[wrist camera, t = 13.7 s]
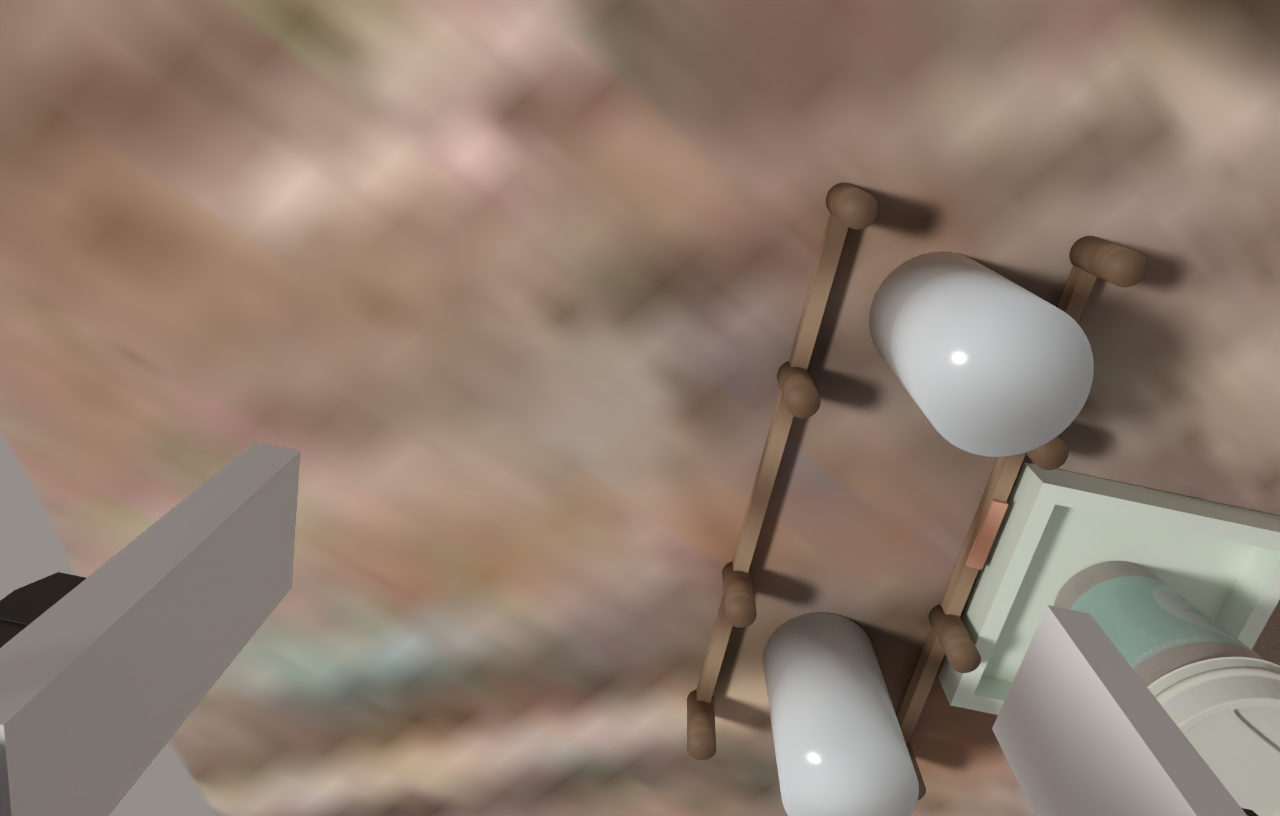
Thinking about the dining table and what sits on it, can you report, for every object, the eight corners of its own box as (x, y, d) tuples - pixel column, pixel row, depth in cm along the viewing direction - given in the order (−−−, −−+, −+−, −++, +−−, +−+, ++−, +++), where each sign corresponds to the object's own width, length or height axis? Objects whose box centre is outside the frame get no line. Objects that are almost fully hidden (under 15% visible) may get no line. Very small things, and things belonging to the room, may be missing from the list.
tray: (1024, 462, 44) (1043, 482, 42) (1280, 515, 44) (1313, 539, 42) (937, 676, 49) (950, 705, 47) (1168, 723, 49) (1192, 754, 47)
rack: (831, 179, 40) (846, 188, 36) (1109, 239, 40) (1153, 254, 36) (684, 708, 51) (684, 756, 47) (903, 752, 51) (920, 804, 47)
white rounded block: (891, 239, 40) (954, 282, 31) (1020, 267, 41) (1120, 318, 31) (853, 363, 43) (900, 438, 33) (975, 389, 43) (1056, 471, 34)
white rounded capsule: (779, 602, 48) (801, 726, 38) (888, 625, 48) (937, 753, 39) (751, 692, 50) (766, 829, 41) (855, 713, 50) (894, 854, 41)
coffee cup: (1198, 648, 47) (1359, 823, 36) (1042, 685, 48) (1149, 866, 37) (1177, 518, 44) (1344, 664, 33) (1012, 562, 46) (1118, 716, 34)
